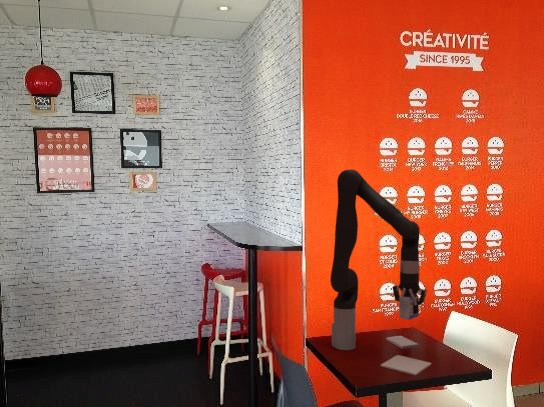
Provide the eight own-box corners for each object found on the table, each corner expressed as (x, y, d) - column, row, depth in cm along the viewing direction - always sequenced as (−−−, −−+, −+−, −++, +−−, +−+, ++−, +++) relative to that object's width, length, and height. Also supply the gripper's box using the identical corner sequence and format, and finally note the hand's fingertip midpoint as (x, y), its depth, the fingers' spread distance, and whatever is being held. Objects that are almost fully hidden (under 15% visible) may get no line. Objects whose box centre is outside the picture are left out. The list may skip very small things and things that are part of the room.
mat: (380, 366, 190) (380, 364, 190) (397, 356, 200) (397, 354, 200) (415, 375, 181) (415, 374, 181) (431, 364, 191) (431, 363, 191)
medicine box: (408, 320, 197) (408, 298, 197) (398, 318, 200) (398, 296, 200) (418, 316, 203) (419, 295, 202) (409, 314, 206) (409, 293, 205)
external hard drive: (402, 350, 209) (385, 340, 221) (418, 347, 212) (401, 338, 224) (402, 346, 209) (385, 337, 221) (418, 343, 212) (401, 335, 224)
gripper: (388, 270, 202) (388, 312, 203) (423, 274, 193) (422, 318, 194) (396, 267, 208) (396, 308, 209) (430, 271, 199) (429, 313, 200)
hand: (409, 312), depth 201 cm, fingers closed on medicine box, 4 cm apart
